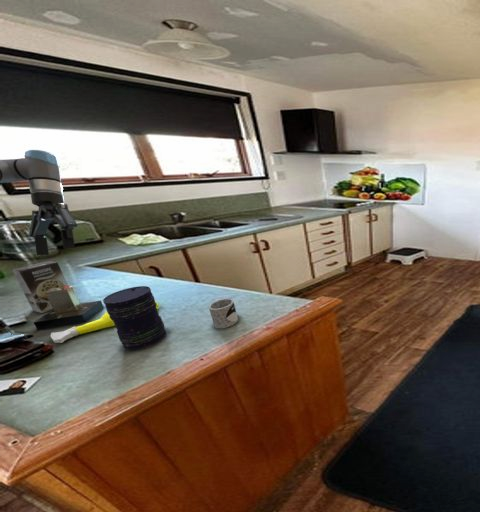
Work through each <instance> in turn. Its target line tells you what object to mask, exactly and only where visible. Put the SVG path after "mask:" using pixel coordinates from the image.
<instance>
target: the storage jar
mask: <svg viewBox="0 0 480 512" xmlns="http://www.w3.org/2000/svg"><path fill="white" fill-rule="evenodd" d="M155 299H156V298H155V296H154V294H153V292H152V290H151V287H150V286H145V285H141V286H139V285H138V286H132V287H128V288H123V289H121V290H117V291H115V292H112V293H111V294H108V295H107V296H105V297H104V298H103V299H102V303H103V305H104V308H105V309H106V312H108V314H109V317H110V318H111V320H113V322H114V324H115V326H114V327H115V328H116V334H117V336H118V339H119V342H121V345H123V346H122V347H123V349H124V351H126V352H127V351H128V352H134V351H140V350H144V349H147V348H150V347H152V346H154V345H156V344H158V343H159V342H161V341H162V340H163V339H165V338H166V336H167V334H168V333H167V330H166V327H165V323H164V321H163V319H162V316H160V314H159V311H158V309H157V308H156V302H157V301H156V300H155ZM155 301H156V302H155Z"/></svg>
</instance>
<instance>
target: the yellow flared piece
mask: <svg viewBox="0 0 480 512" xmlns="http://www.w3.org/2000/svg"><path fill="white" fill-rule="evenodd" d="M155 302H156V308H157V310H159V308H160V306H159V303H158V302H157V301H156V300H155ZM113 327H116V326H115V324H114V322H113V320H111V318H110V317H109V314H108V312H107V311H106V312H105V313H103V315H102V316H101V317H100V318H98V319H96V320H93V321H90V322H87V323H84V324H83V325H82V324H81V325H77V326H72V327H70V328H68V329H66V330H64V331H57V332H54V331H53V332H51V333H50V338H51V340H52V341H53V343H56V344H57V343H58V344H62V343H64V342H65V341H67V340H69V339H71V338H74V337H76V336H78V335H83V334H87V333H90V332H95V331H98V330H99V331H100V330H103V329H108V328H113Z"/></svg>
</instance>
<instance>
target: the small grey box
mask: <svg viewBox="0 0 480 512" xmlns="http://www.w3.org/2000/svg"><path fill="white" fill-rule="evenodd" d="M45 294H46V296H47V298H48V300H49V302H50V304H51V306H52V308H53V309H52V310H54V311H55V313H56V314H58V313H65V312H71V311H77V310H79V309H80V308H81V307H82V306H81V302H80V300H79V298H78V296H77V294H76V292H75V289H74V288H73V285H68V286H66V287H62V288H54V289H49V290H48V291H46V292H45Z"/></svg>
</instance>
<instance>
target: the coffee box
mask: <svg viewBox="0 0 480 512" xmlns="http://www.w3.org/2000/svg"><path fill="white" fill-rule="evenodd" d="M11 272H12V273H13V274H14V277H15V279H16V280H17V282H18V285H19V287H20V288H21V291H22V292H23V294H24V296H25V298H26V299H27V302H28V303H29V306H30V308H31V309H32V311H33V312H37V313H40V314H44V313H48V312H50V311H52V310H54V309H53V308H52V306H51V304H50V302H49V300H48V298H47V296H46V294H45V292H46V291H48V290H49V289H54V288H62V287H66V286H69V284H68V281H67V280H66V277H65V275H64V273H63V271H62V269H61V266H60V265H59V263H58V262H57V261H49V260H47V261H43V262H39V263H34V264H30V265H27V266H26V265H25V266H21V267H18V268H13V269H11Z"/></svg>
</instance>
